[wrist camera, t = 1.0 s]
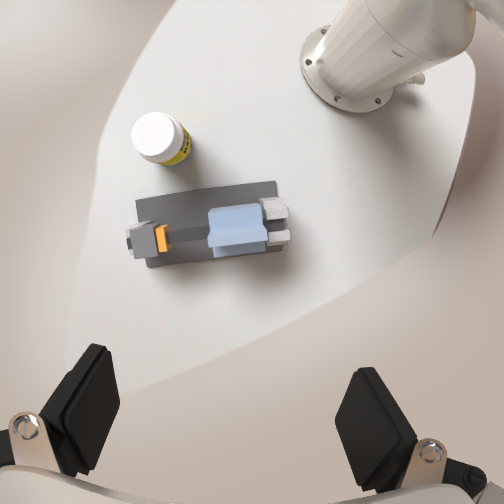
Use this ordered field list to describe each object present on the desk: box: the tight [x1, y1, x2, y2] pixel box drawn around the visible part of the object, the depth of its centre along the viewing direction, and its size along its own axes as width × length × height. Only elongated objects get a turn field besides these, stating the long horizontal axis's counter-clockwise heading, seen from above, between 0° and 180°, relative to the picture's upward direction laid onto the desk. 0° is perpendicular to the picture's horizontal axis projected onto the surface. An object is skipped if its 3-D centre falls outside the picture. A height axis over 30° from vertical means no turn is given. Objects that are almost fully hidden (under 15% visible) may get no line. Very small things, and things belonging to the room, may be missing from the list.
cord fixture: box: [125, 181, 290, 267], centre depth 29 cm, size 16×8×7 cm, turn 96°
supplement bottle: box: [131, 112, 192, 166], centre depth 26 cm, size 5×5×8 cm
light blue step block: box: [207, 203, 268, 258], centre depth 26 cm, size 5×4×7 cm
